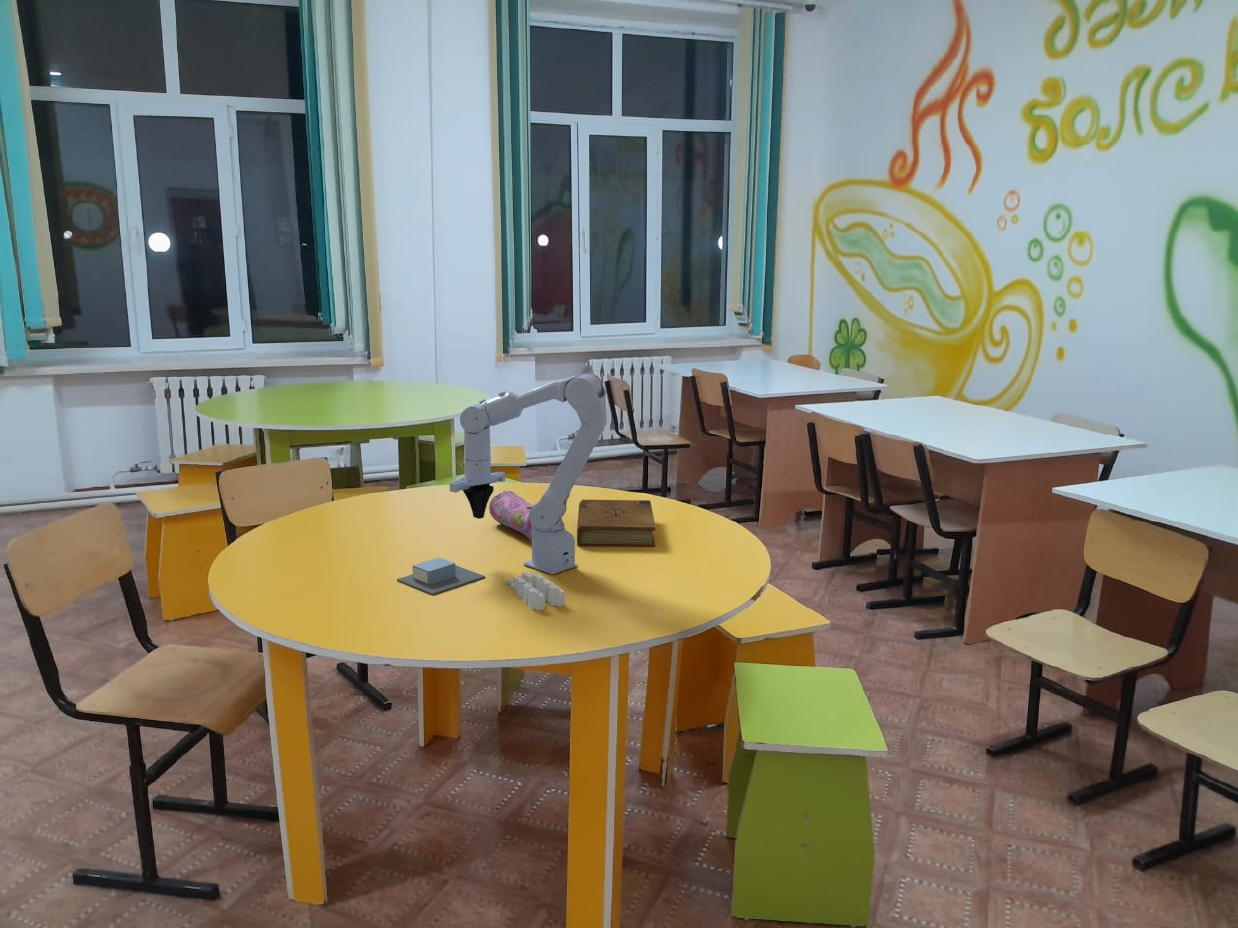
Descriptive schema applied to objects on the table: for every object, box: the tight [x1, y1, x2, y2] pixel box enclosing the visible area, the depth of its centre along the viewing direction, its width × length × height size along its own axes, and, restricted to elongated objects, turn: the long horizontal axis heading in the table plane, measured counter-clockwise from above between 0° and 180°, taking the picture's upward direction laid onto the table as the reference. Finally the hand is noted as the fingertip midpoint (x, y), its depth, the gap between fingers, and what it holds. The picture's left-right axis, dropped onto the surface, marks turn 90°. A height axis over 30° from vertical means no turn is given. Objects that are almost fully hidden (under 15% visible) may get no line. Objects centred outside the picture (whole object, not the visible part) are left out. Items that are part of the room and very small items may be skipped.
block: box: [412, 557, 456, 585], centre depth 191 cm, size 6×3×7 cm
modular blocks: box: [504, 571, 566, 611], centre depth 186 cm, size 20×7×4 cm, turn 30°
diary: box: [576, 499, 656, 548], centre depth 226 cm, size 23×19×6 cm
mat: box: [396, 564, 486, 596], centre depth 192 cm, size 12×14×1 cm
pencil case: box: [488, 490, 534, 543], centre depth 224 cm, size 21×9×9 cm, turn 34°
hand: (478, 517), depth 203 cm, fingers closed
